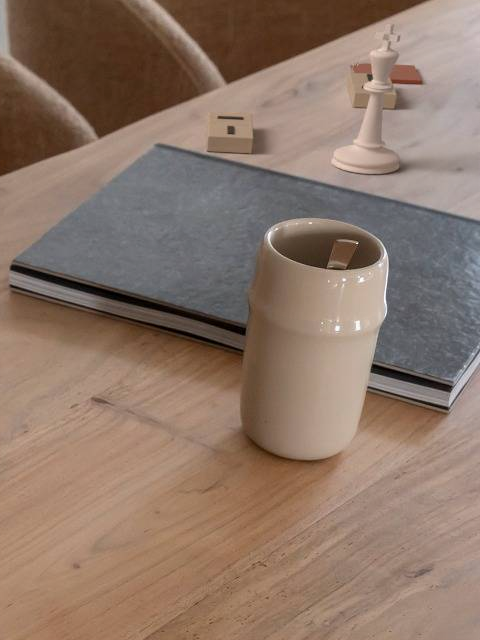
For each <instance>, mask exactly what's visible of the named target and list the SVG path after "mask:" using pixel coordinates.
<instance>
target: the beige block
mask: <svg viewBox="0 0 480 640" xmlns="http://www.w3.org/2000/svg"><path fill="white" fill-rule="evenodd" d="M371 80H373V75H372V74H368V73H353V72H349V73H348V76H347V83H346V88H347V91H348V95H349V99H350V103H351V106H352V108H361V109H362V108H363V109H367V106H368V102H369V99H370V95H371V92H369V91H366V90H364V89H363V87H364V86H365V83H367V82H372V81H371ZM387 81H388V83H390V84H392V85H393V88H394V90H393V91H392V92H388V93H384V101H383V110H384V109H388V110H394V109H395V107H396V104H397V103H396V102H397V99H398V98H397V97H398V94H397V92H396V89H395V87H394V83H392V81H391V79H390V76H389V77H388V79H387Z"/></svg>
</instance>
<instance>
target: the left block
mask: <svg viewBox="0 0 480 640" xmlns="http://www.w3.org/2000/svg"><path fill="white" fill-rule="evenodd" d="M253 145H254V128H253V115H252V114H251V113H239V112H237V113H236V112H218V111H217V112H215V111H209V112H208V113H207V123H206V152H215V153H231V154H232V153H233V154H252V153H253Z"/></svg>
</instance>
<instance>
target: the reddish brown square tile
mask: <svg viewBox="0 0 480 640" xmlns="http://www.w3.org/2000/svg"><path fill="white" fill-rule="evenodd" d="M356 63H357V64H358V63H359V62H356ZM360 63H361V64H359V65H358V66H357V64H356V65H354V66H352V67H353V71H354V73H368V74H372V66H371V63H365V62H360ZM362 63H364V64H362ZM389 76H390V79H391V81H392V84H412V85H421V84H422V79H421V77H420V75H419V72H418V71H417V68H416V66H415V65H413V64H395V65H394V67H393V69H392V71H391V73H390V75H389Z"/></svg>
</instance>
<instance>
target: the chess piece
mask: <svg viewBox="0 0 480 640" xmlns="http://www.w3.org/2000/svg"><path fill="white" fill-rule="evenodd" d="M394 28H395V24H394V23H386V24H385V26H384V31H380V30H379V31H376V32H375V36H374V39H375V40H380V41H382V42H381V47H379V48H376V49H375V48H374V49H373V50H371V51H370V53H369V60H370V64H371V66H372V75H373V80H371V81H372V82H367V83H365V86H364V87H363V89H364V90H366V91H369V92H371V95H370V99H369V102H368V106H367V108H366V110H365V113H364V116H363V120H362V123H361V126H360V130H359V133H358V136H357V137H356V138H354V139H353V140H352V143H353V144H348V145H343V146H341V147H337V148H336V149H335V150H334V151H333V153H332V155H333V157H332V158H331V160H330V163H331V164H332V166H334V167H335V168H337V169H339V170H342V171H346V172H349V173H354V174H355V173H356V174H362V175H383V174H384V175H385V174H390V173H394V172H396V171H398V169H400V163H399V162H400V159H401V158H400V155H399V154H398V153H397V152H396V151H394V150H392V149H390V148H388V147H386V142H385V141H383V140H382V132H383V131H382V128H383V114H384V112H383V111H384V109H383V101H384V93H388V92H392V91H393V90H394V89H395V87H394V88H393V86H394V84H393V83H392V84H393V85H392V84H390V83H388V81H387V79H388V77H389V75H390V73H391V71H392V69H393V67H394V65H396V64H397V61H398V60H399V57H400V54H399V52H398V51H396V50H394V49H392V48H391V45H392V43H399V42H400V41H401V37H402V36H401V34H399V33H394Z"/></svg>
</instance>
